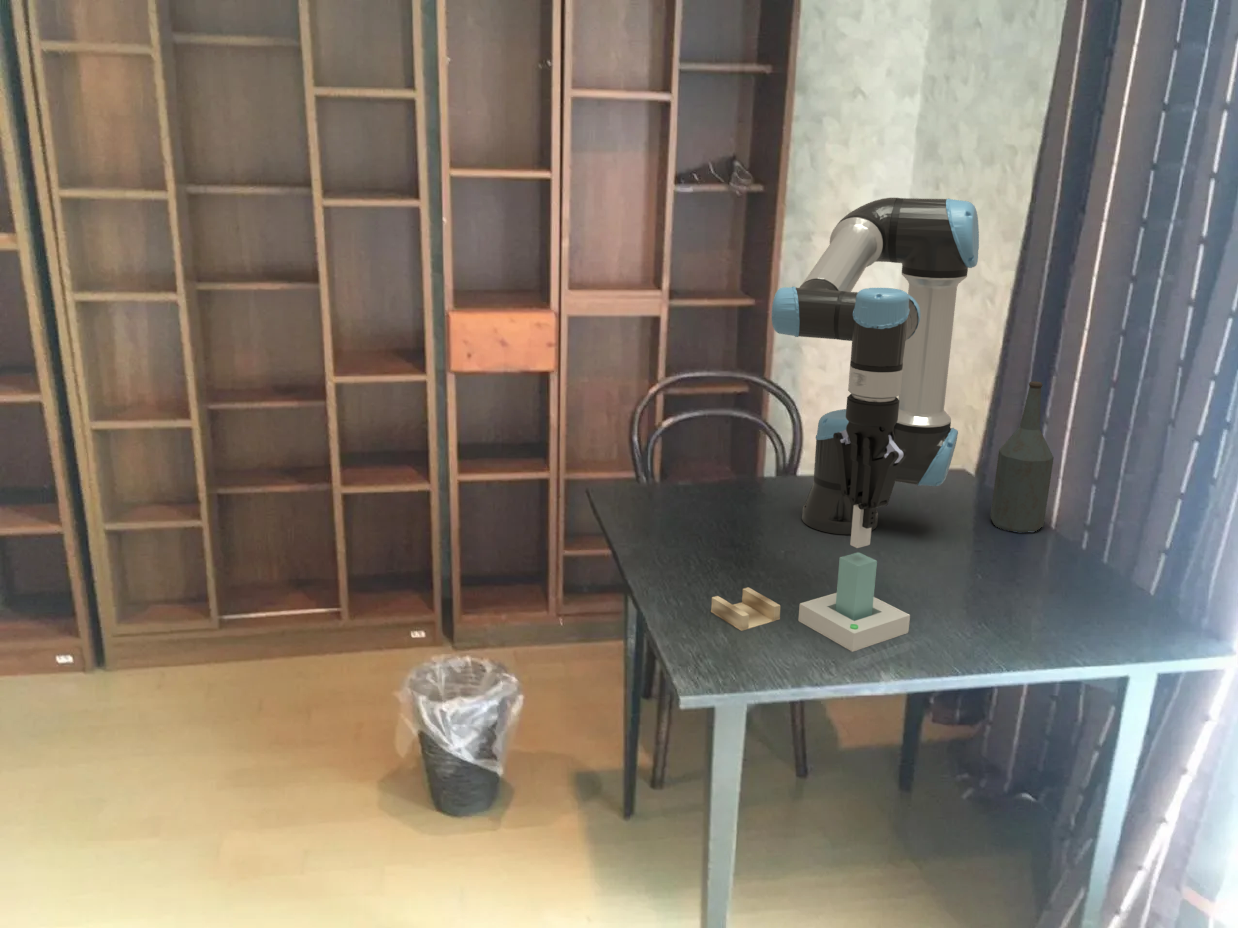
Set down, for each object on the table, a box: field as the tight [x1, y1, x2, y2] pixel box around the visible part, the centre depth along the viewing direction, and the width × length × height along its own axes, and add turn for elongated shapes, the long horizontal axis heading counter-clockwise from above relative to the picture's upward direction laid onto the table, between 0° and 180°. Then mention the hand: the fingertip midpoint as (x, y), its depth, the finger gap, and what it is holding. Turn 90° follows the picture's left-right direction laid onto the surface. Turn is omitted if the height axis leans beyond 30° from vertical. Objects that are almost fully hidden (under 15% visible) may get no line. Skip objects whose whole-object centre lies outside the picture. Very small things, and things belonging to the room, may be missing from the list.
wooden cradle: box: [710, 587, 781, 632], centre depth 165 cm, size 8×8×4 cm
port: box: [798, 592, 911, 653], centre depth 161 cm, size 12×12×5 cm
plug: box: [835, 551, 878, 621], centre depth 160 cm, size 4×4×12 cm
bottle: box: [989, 381, 1054, 532], centre depth 205 cm, size 10×10×30 cm
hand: (860, 544), depth 157 cm, fingers closed
